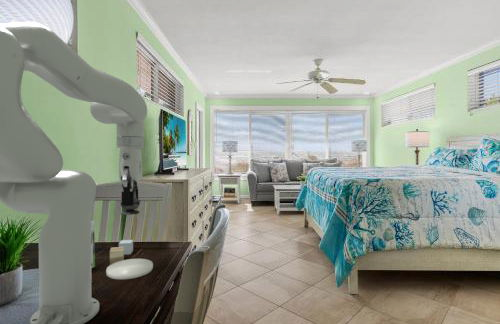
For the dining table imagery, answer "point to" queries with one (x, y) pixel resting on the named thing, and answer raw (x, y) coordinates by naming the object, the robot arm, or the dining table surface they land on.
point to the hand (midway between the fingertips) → (130, 202)
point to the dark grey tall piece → (131, 208)
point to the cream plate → (129, 269)
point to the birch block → (116, 254)
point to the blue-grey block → (127, 246)
